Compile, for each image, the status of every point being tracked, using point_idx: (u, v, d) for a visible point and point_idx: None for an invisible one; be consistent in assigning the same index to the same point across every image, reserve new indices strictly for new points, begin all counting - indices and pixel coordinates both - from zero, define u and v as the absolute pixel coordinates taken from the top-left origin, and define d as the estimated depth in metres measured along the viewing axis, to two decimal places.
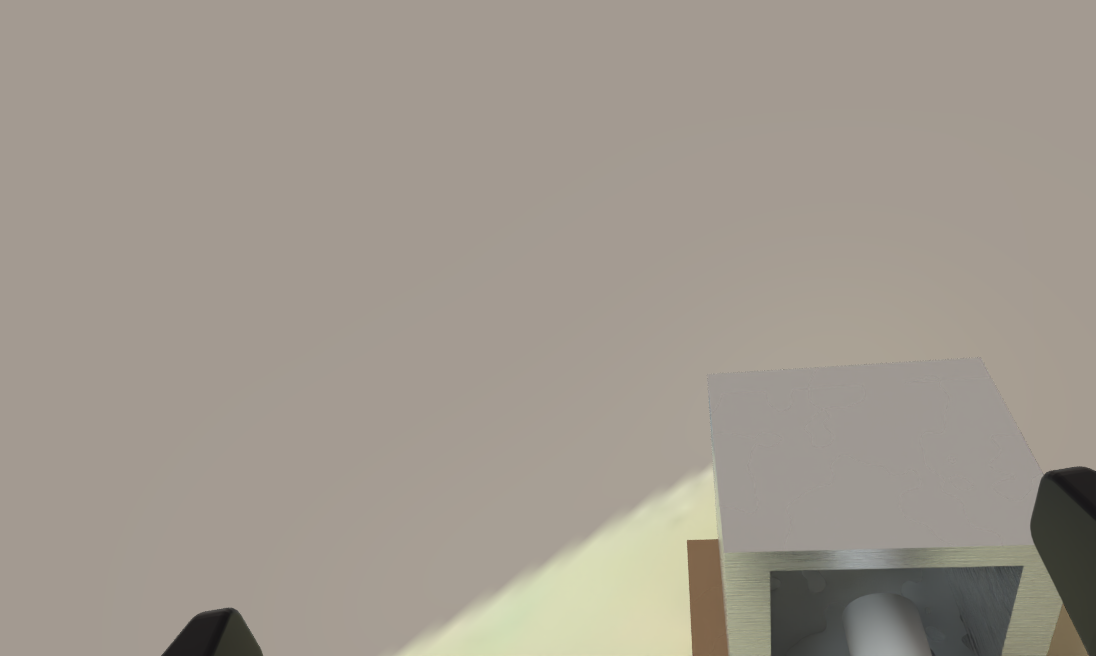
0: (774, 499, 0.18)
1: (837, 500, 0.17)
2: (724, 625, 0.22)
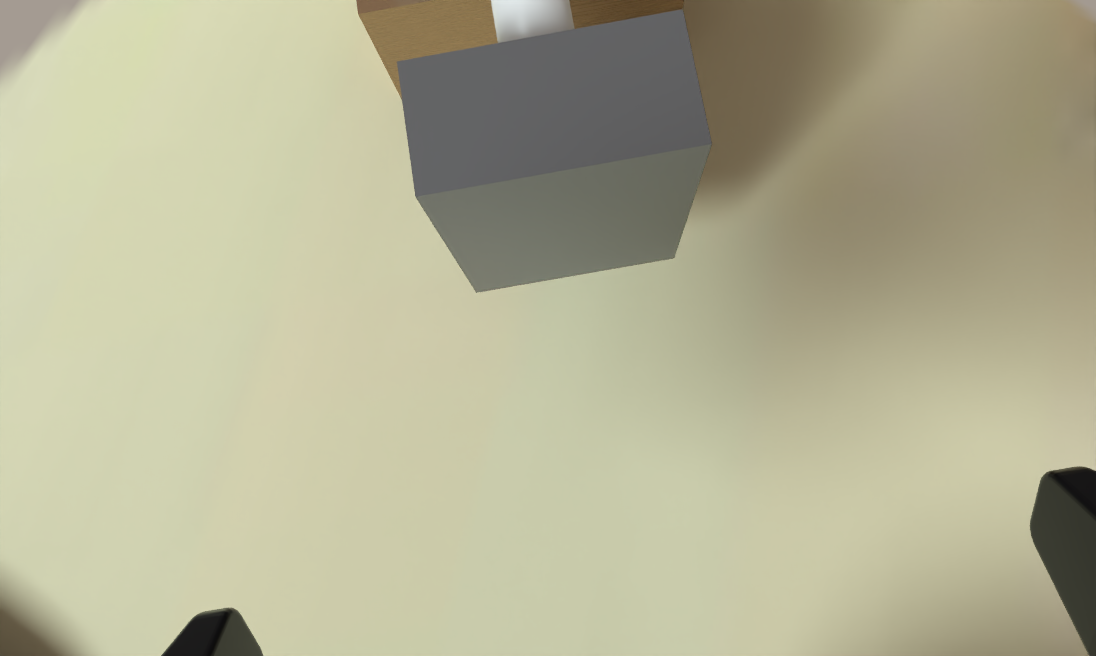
0: None
1: None
2: None
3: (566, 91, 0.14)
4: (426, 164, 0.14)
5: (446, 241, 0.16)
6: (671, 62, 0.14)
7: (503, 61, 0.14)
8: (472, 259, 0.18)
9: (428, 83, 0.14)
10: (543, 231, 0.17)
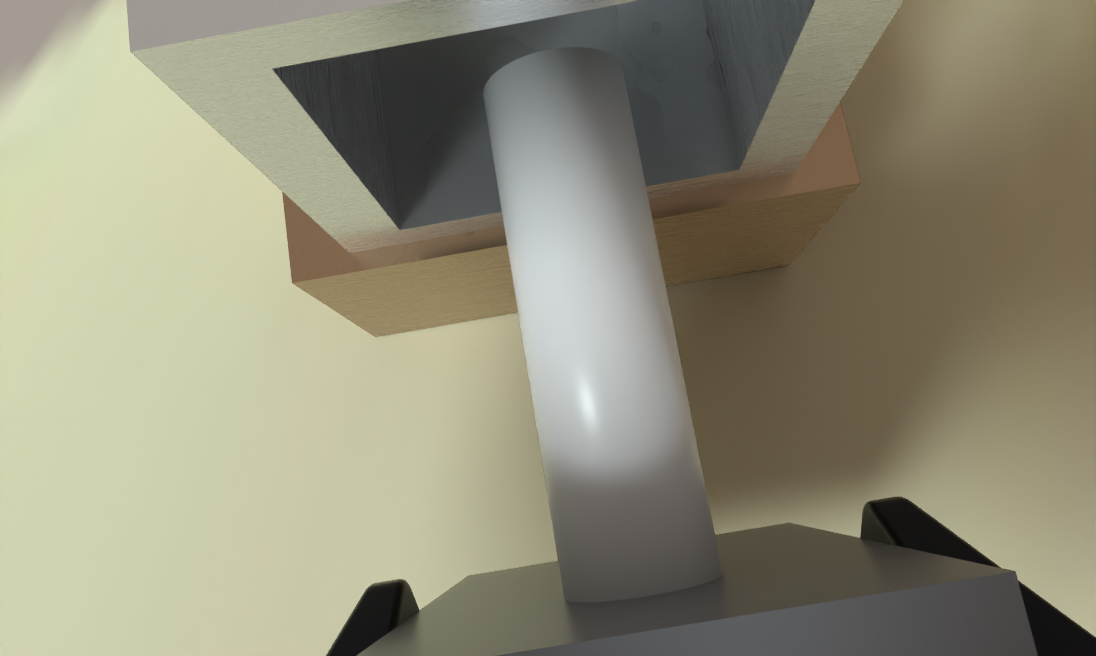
0: None
1: None
2: None
3: None
4: None
5: None
6: None
7: None
8: None
9: None
10: None
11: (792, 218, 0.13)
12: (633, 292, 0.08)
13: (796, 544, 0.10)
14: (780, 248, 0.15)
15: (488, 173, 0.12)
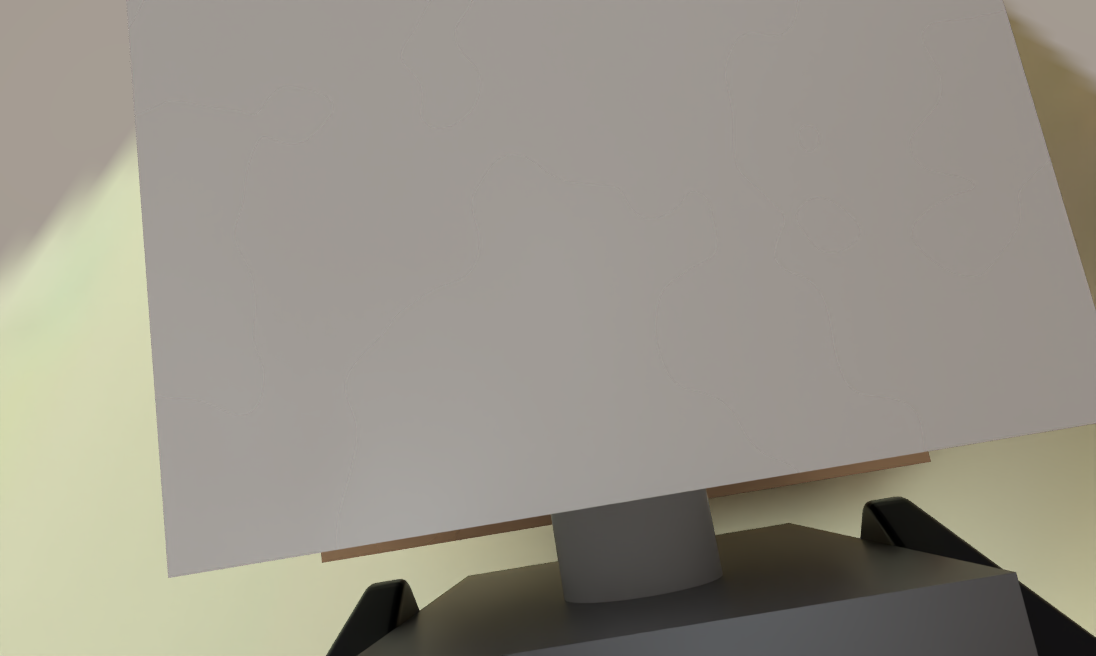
0: (310, 352, 0.06)
1: (486, 335, 0.06)
2: None
3: None
4: None
5: None
6: None
7: None
8: None
9: None
10: None
11: None
12: None
13: (796, 544, 0.10)
14: None
15: None
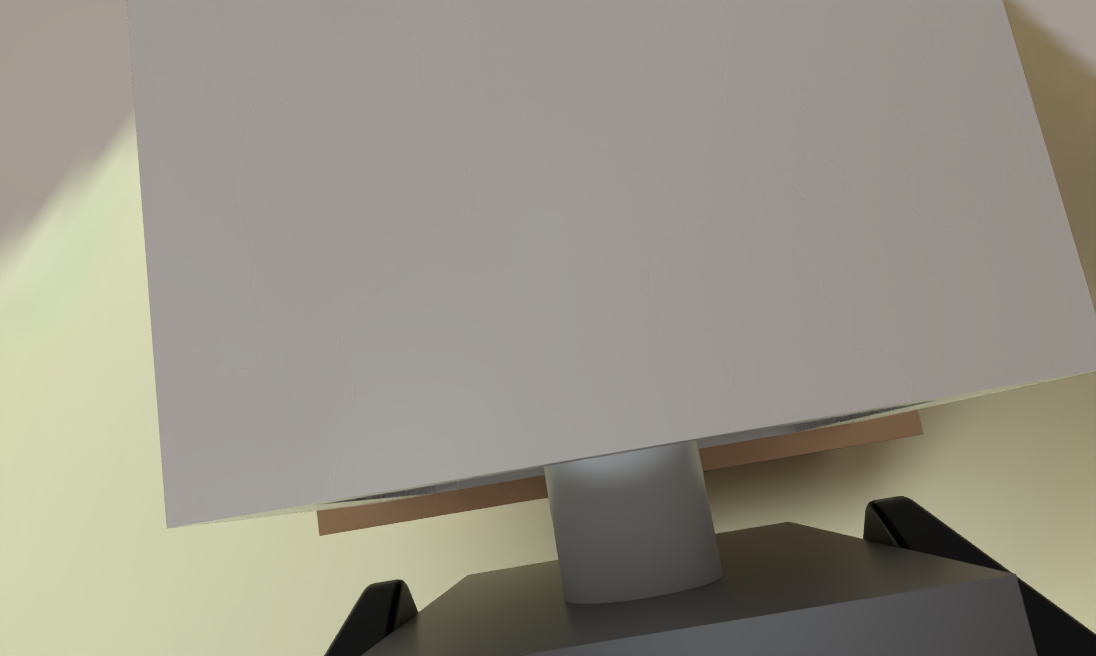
0: (306, 308, 0.06)
1: (480, 290, 0.06)
2: None
3: None
4: None
5: None
6: None
7: None
8: None
9: None
10: None
11: None
12: None
13: (796, 544, 0.10)
14: None
15: None
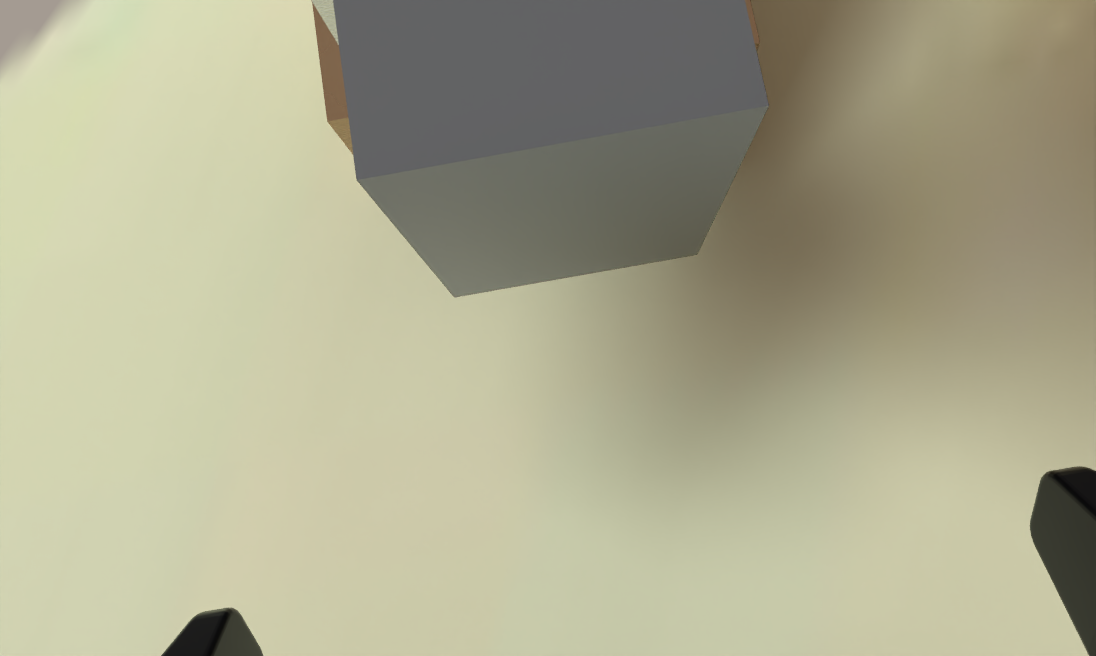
0: None
1: None
2: None
3: (565, 33, 0.10)
4: (372, 134, 0.10)
5: (408, 238, 0.12)
6: None
7: None
8: (445, 259, 0.14)
9: (375, 22, 0.10)
10: (535, 224, 0.13)
11: None
12: None
13: None
14: None
15: None
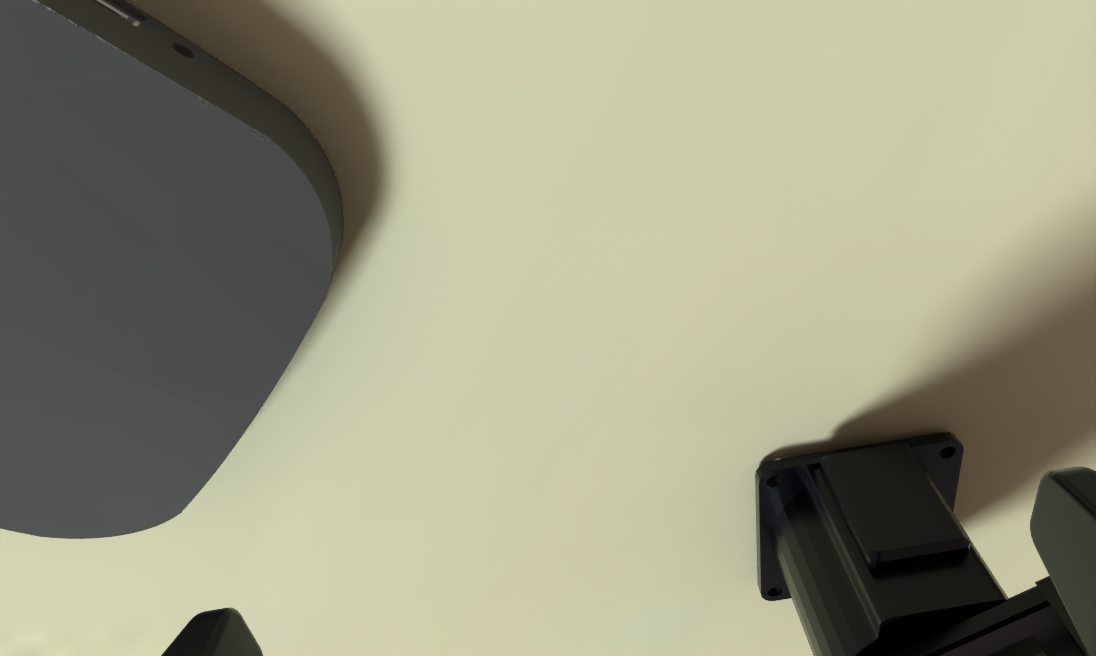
0: None
1: None
2: None
3: None
4: None
5: None
6: None
7: None
8: None
9: None
10: None
11: None
12: None
13: None
14: None
15: None
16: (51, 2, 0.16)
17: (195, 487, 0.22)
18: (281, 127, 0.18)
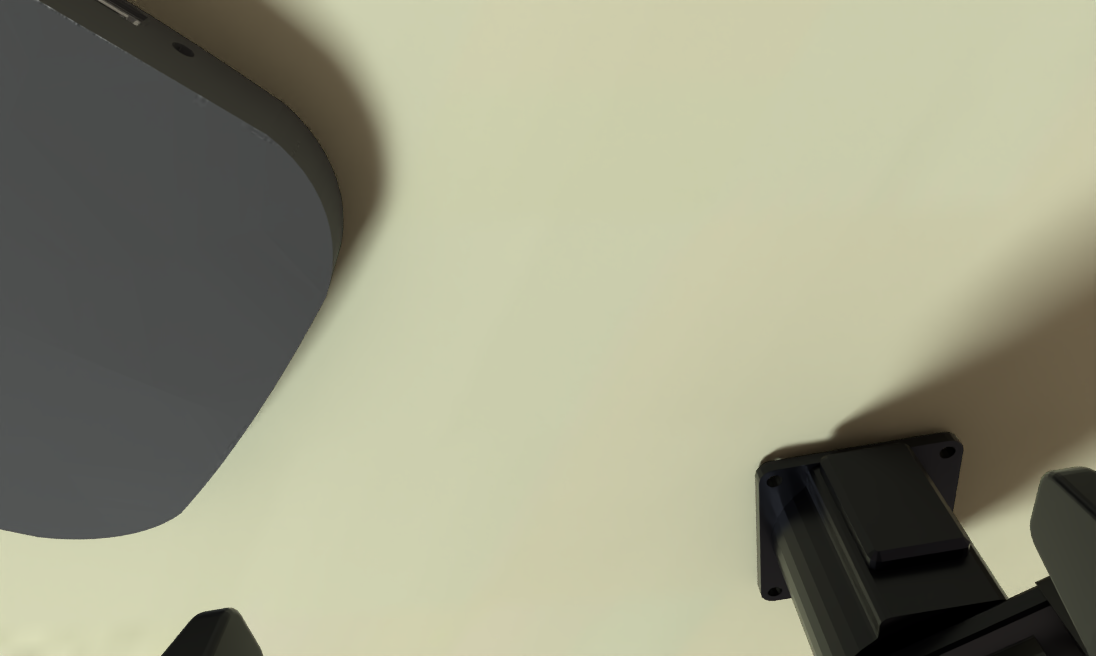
0: None
1: None
2: None
3: None
4: None
5: None
6: None
7: None
8: None
9: None
10: None
11: None
12: None
13: None
14: None
15: None
16: (51, 1, 0.16)
17: (195, 487, 0.22)
18: (281, 126, 0.18)
